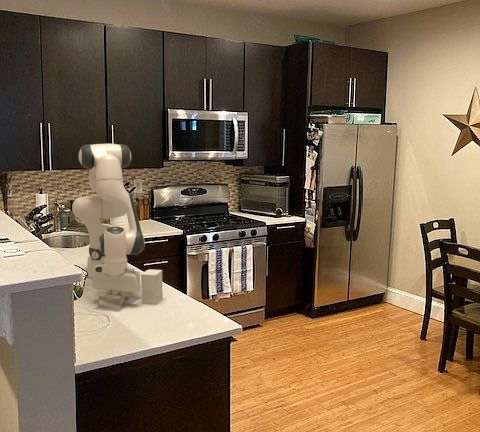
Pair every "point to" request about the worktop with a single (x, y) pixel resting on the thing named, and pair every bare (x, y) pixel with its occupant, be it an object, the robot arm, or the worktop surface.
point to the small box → (151, 287)
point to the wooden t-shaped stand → (113, 300)
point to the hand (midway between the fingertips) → (116, 301)
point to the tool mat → (124, 304)
